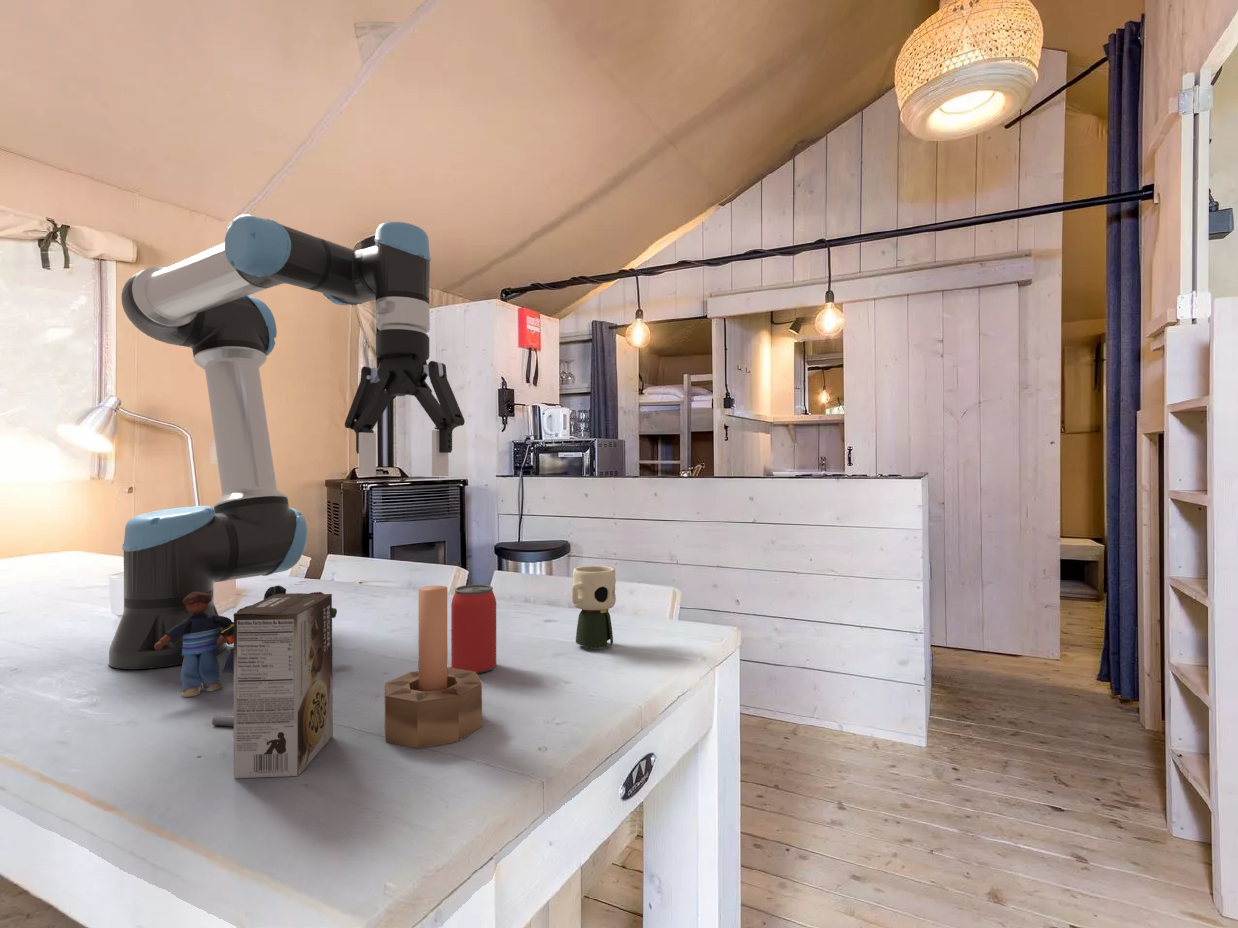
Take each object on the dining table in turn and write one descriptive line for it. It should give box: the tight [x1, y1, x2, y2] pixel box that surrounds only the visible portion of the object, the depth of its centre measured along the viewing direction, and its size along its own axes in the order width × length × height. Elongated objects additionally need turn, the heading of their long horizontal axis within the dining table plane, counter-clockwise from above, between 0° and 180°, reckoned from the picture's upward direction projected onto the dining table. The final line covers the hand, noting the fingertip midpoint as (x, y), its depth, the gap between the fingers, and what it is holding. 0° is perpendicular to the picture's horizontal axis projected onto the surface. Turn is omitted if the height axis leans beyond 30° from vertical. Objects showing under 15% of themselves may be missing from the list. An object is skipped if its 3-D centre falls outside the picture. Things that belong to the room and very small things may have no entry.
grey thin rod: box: [211, 715, 234, 727], centre depth 71 cm, size 10×1×1 cm, turn 83°
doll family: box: [154, 584, 338, 698], centre depth 88 cm, size 23×9×13 cm, turn 159°
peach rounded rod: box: [418, 585, 448, 692], centre depth 71 cm, size 3×3×16 cm
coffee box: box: [233, 592, 334, 779], centre depth 64 cm, size 9×6×16 cm
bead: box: [384, 666, 483, 749], centre depth 71 cm, size 10×10×5 cm
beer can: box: [450, 584, 497, 675], centre depth 92 cm, size 7×7×12 cm
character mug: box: [571, 565, 617, 649], centre depth 103 cm, size 11×7×13 cm, turn 143°
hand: (402, 476), depth 91 cm, fingers open, 13 cm apart
